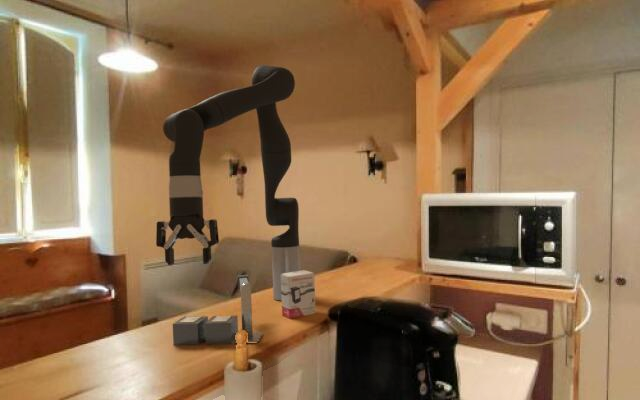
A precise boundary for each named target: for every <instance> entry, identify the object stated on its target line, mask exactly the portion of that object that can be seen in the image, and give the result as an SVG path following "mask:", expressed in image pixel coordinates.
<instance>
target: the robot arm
mask: <svg viewBox="0 0 640 400" xmlns="http://www.w3.org/2000/svg"><path fill="white" fill-rule="evenodd" d="M295 82H296V80H295V77H294V75H293V73H292V71H290V70H289V69H287V68H285V67H282V66H275V65H265V64H263V65H259V66H257V67H256V68H255V69H254V71H253V74H252V78H251V85H249V86H245V87H241V88H235V89H230V90H227V91H223V92H220V93H218V94H215V95H213V96H211V97H209V98H206V99H204V100H202V101H201V102H199V103H197V104H196V105H193V106H191V107H187V108H186V109H182V110H179V111H177V112H175V113H172V114H170V115H168V116H167V117H166V119H165V120H164V122H163V125H162V129H163V130H162V131H163V134H164V135H165V137H166V139H168V140H169V141H171V142H173V143H174V150H173V151H172V152H171V154H170V155H169V159H168V172H169V175H168V176H169V181H168V182H169V183H168V197H169V198H168V199H169V200H168V201H169V202H168V203H169V218H170V219H169V221H165V220H161V221H160V220H159V221H157V222H156V236H155V240H156V243H155V244H156V247H158V248H159V247H160V248H163V249H164V261H165V263H166V264H167V265H168V266H172V265H174V264H175V249H174V248H173V247H174V246H175V244H176V242H178V241H179V240H183V239H196V240H197V241H198V242H199V243H200V244H201V245H202V246H203V248H202V262H203V263H202V264H203V265H207V264H209V263H210V261H212V247H214V246H216V245H219V243H220V240H219V239H220V238H219V228H218V220H217V219H216V218H213V219H209V220H208V219H206V220H205V218H204V209H203V208H204V203H203V202H204V201H203V194H204V192H203V183H202V178H201V177H202V174H201V159H200V158H201V154H202V150H203V143H204V137H205V131H208V130H210V129H214V128H216V127H219V126H221V125H223V124H226V123H227V122H230V121H231V120H233V119H235V118H237V117H239V116H241V115H243V114H246V113H248V112H250V111H253V110H256V113H257V114H256V115H257V121H258V131H259V138H260V155H261V162H262V163H261V164H262V172H263V178H264V179H263V180H264V199H265V201H264V204H265V205H264V208H265V220H266V222H267V224H268V225H269V226H271V227H278V226H279V227H280V226H281V227H282V226H283V227H284V226H288V229H287V230H286V231H284V232H283V233H282V234H279V235H276V236H274V237H272V238H271V242H270V243H271V244H270V245H271V261H272V263H271V264H272V267H271V268H272V288H273V289H272V292H273V299H274V300H276V301H282V295H281V274H283V273H289V272H296V271H301V257H300V237H299V236H300V235H299V217H300V216H299V214H300V213H299V212H300V211H299V209H300V207H299V203H298V200H297V198H295V197H278V198H277V197H275V195H276V192H277V190H278V187H279V186H280V184H281V181H282V180H283V178H284V176H285V175H286V174H287V172H288V171H289V169H290V167H291V164H292V147H291V146H292V145H291V140H290V137H289V134H288V132H287V129H285V126H284V125H283V122H282V121H281V119H280V117H279V114H278V113H279V112H278V110H277V109H278V108H277V103H278V102H282V101H285V100H287V99H289V98H290V97H291V96H292V94H293V92H294V91H295V90H294V89H295V85H296V83H295ZM205 226H206V228H207V229H208V230H209V237H210V239H209V238H208V237H207V234H205V232H204V231H203V229H204V228H205ZM168 229H170V230H171V231H172V232H171V234H170V235H169V237H168V238H167V231H168ZM166 238H167V239H166Z"/></svg>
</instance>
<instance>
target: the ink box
mask: <svg viewBox="0 0 640 400" xmlns="http://www.w3.org/2000/svg"><path fill="white" fill-rule="evenodd" d="M315 289H316V287H315V272H312V271H310V270H306V269H303V270H300V271H296V272H289V273H283V274H281V295H282V300H281V315H282V316H284V317H286V318H287V319H295V318H300V317H304V316H308V315H309V316H310V315H315V314H316V290H315Z"/></svg>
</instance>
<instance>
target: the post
mask: <svg viewBox="0 0 640 400" xmlns="http://www.w3.org/2000/svg"><path fill="white" fill-rule="evenodd" d="M240 288H241V292H240V306H241V307H240V308H241V309H240V310H241V311H240V312H241V331H242V330H245V331H246V332H247V333H248V342H258V340H259V339H260V338H261V339H262V337H263V335H264V333H263V331H260V332H259V331H258V332H254V331H253V308H252V307H253V306H252V305H253V304H252V282H251V283H250V282H249V283H242V284H240ZM262 334H263V335H262ZM261 336H262V337H261ZM261 339H260V340H261ZM260 340H259V341H260ZM235 343H236V340H235V338H234V339H233V340H232V344H231V345H236V344H235ZM258 343H259V342H258Z"/></svg>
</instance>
